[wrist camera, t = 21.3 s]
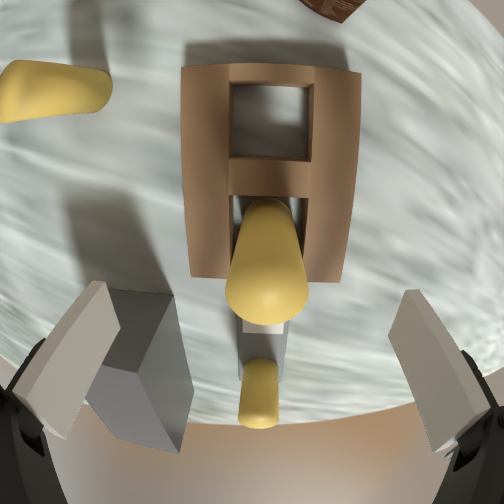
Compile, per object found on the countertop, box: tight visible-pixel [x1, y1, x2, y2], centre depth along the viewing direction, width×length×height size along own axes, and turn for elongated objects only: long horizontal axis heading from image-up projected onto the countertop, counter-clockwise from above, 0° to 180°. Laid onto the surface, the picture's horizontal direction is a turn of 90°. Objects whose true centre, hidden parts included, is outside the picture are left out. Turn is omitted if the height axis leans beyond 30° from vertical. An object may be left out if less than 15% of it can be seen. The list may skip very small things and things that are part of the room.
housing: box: [85, 289, 194, 454], centre depth 25 cm, size 8×16×10 cm, turn 179°
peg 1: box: [0, 60, 112, 123], centre depth 13 cm, size 4×4×10 cm
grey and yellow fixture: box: [238, 316, 289, 429], centre depth 25 cm, size 5×13×7 cm, turn 179°
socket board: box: [181, 63, 361, 283], centre depth 19 cm, size 12×16×2 cm
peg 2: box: [225, 198, 309, 325], centre depth 18 cm, size 4×4×10 cm
